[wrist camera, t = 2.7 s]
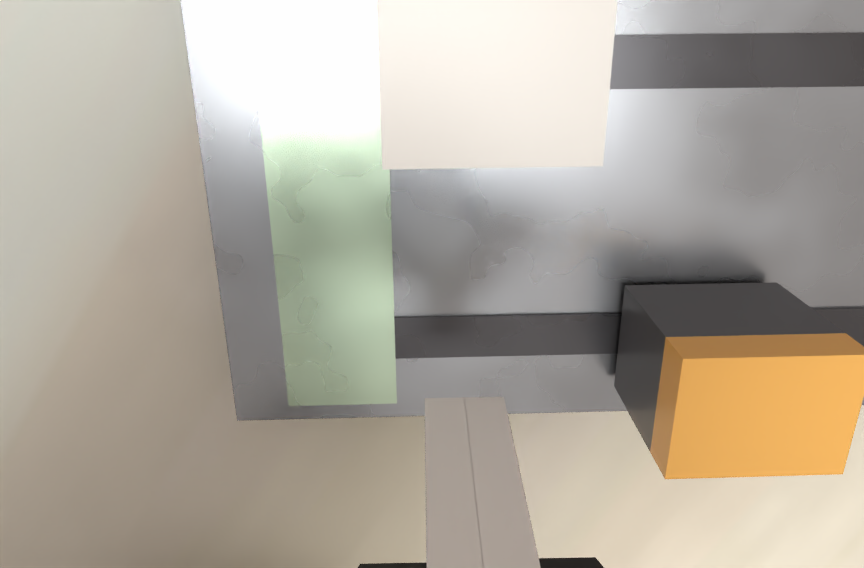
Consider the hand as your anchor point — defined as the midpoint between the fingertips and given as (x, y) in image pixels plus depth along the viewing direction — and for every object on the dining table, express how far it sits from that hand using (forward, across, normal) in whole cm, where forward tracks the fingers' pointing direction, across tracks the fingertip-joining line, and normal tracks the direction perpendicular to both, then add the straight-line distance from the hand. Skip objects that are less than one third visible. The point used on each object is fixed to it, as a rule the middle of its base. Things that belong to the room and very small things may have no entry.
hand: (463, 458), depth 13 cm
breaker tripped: (+5, +7, 0) cm, 8 cm away
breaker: (+5, +1, +7) cm, 9 cm away
